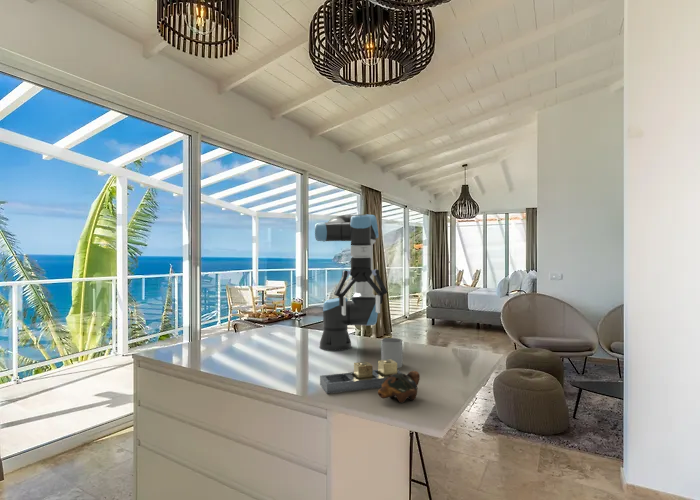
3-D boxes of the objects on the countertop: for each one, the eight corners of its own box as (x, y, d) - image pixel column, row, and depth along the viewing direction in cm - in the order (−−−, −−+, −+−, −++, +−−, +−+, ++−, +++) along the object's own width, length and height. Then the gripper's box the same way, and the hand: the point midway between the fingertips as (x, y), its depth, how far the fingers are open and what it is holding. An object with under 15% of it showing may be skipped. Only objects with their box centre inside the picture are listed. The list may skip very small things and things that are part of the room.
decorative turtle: (429, 398, 122) (428, 372, 121) (392, 413, 113) (391, 385, 113) (407, 388, 130) (406, 364, 129) (371, 401, 121) (370, 375, 120)
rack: (320, 384, 135) (320, 375, 135) (394, 376, 144) (394, 368, 144) (327, 393, 126) (327, 384, 126) (406, 384, 135) (406, 375, 135)
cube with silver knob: (353, 383, 136) (353, 362, 136) (367, 381, 138) (367, 361, 138) (358, 387, 132) (358, 366, 132) (372, 386, 133) (372, 364, 133)
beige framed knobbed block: (378, 380, 139) (378, 359, 139) (391, 379, 141) (391, 358, 141) (383, 384, 135) (383, 363, 135) (397, 383, 136) (397, 362, 136)
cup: (401, 368, 153) (401, 342, 154) (380, 367, 155) (380, 342, 155) (403, 362, 162) (402, 338, 162) (383, 361, 163) (382, 337, 163)
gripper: (331, 258, 140) (331, 317, 140) (395, 256, 148) (395, 313, 148) (325, 257, 147) (326, 314, 147) (387, 256, 155) (387, 310, 155)
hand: (361, 313), depth 148 cm, fingers open, 13 cm apart
